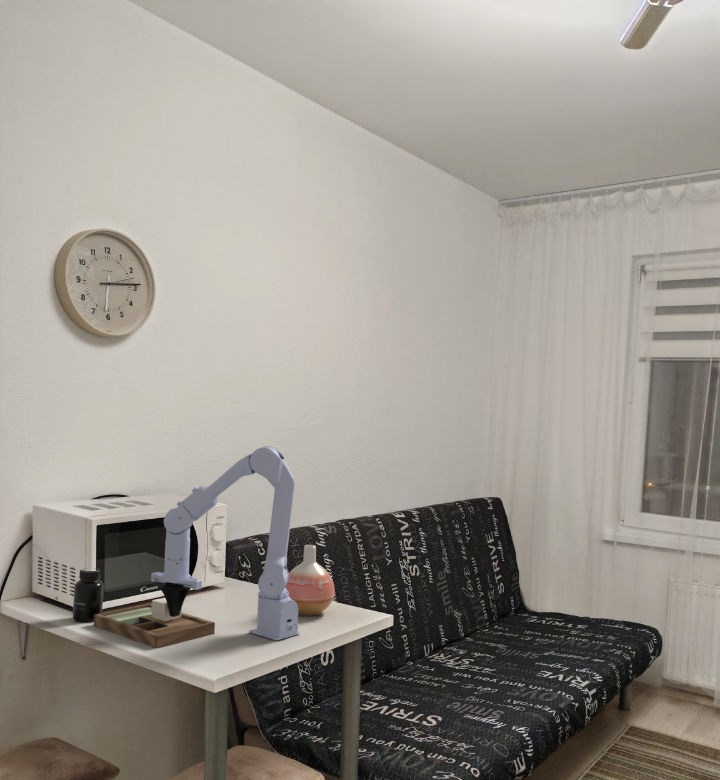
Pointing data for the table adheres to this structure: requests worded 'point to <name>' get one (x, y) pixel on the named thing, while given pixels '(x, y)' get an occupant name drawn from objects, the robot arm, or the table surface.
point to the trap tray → (153, 626)
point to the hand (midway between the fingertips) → (174, 615)
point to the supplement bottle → (88, 596)
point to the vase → (310, 585)
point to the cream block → (162, 610)
